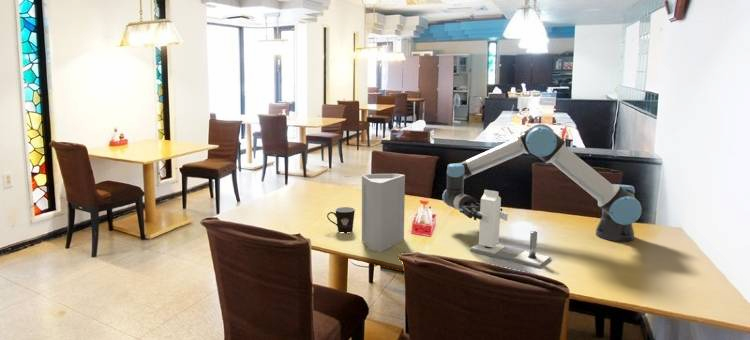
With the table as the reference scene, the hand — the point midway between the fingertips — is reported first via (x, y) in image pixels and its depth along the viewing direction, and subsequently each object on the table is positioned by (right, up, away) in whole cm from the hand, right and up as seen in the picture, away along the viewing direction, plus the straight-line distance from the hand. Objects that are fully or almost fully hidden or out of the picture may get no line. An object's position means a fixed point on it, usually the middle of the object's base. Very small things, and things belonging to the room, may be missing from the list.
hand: (497, 218), depth 192 cm
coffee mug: (-62, -9, +31) cm, 70 cm away
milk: (-2, -11, +7) cm, 13 cm away
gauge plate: (+5, -14, +2) cm, 15 cm away
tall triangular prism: (-46, -12, +16) cm, 50 cm away
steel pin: (+12, -14, -4) cm, 19 cm away
